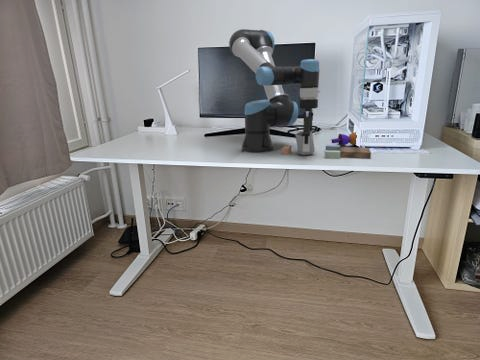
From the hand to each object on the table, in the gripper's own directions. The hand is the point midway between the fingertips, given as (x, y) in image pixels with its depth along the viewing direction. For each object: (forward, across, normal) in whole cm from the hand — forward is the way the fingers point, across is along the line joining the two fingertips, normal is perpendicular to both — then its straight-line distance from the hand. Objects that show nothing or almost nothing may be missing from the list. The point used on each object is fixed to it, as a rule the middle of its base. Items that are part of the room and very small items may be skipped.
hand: (307, 148), depth 138 cm
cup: (+2, +2, 0) cm, 2 cm away
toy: (+1, +20, -10) cm, 23 cm away
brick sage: (+3, -5, -11) cm, 12 cm away
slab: (+3, +1, -20) cm, 20 cm away
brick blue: (+3, +7, -11) cm, 13 cm away
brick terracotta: (+3, +1, +9) cm, 10 cm away
